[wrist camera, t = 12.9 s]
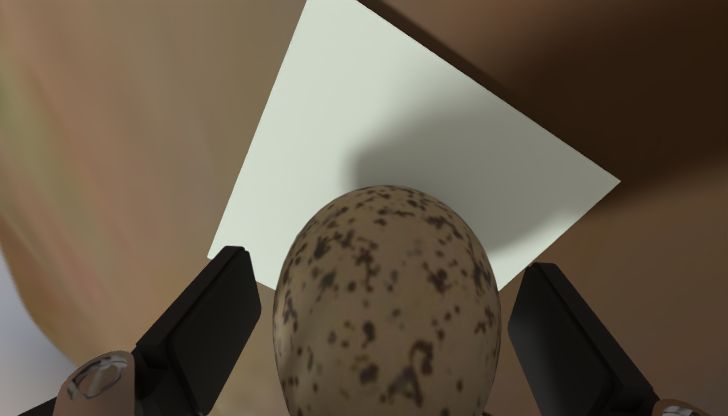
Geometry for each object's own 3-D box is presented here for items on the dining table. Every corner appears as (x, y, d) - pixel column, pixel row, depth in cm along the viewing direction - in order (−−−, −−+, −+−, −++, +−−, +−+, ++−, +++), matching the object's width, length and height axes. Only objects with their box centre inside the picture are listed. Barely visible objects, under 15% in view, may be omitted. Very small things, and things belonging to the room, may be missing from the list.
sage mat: (611, 175, 12) (621, 181, 12) (420, 351, 19) (421, 360, 18) (321, -22, 10) (317, -27, 10) (213, 250, 16) (207, 257, 16)
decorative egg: (344, 296, 16) (286, 582, 7) (288, 181, 13) (82, 426, 4) (476, 269, 15) (604, 593, 6) (446, 132, 12) (610, 362, 3)
